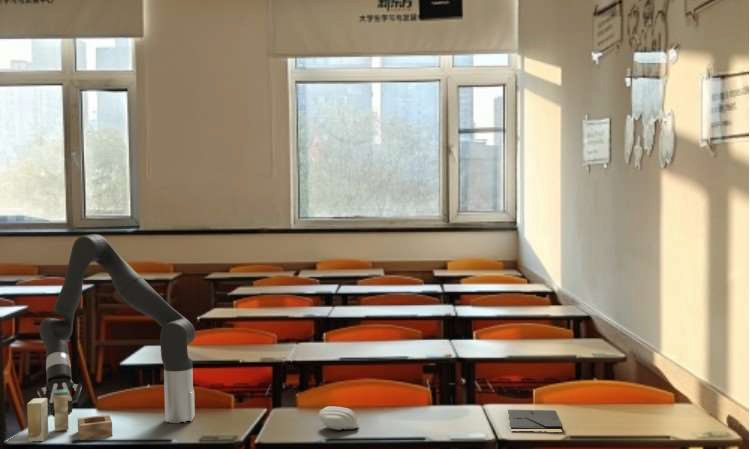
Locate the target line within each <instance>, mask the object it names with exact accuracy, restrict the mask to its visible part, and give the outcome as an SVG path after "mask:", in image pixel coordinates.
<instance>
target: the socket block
mask: <svg viewBox="0 0 750 449" xmlns="http://www.w3.org/2000/svg"><path fill="white" fill-rule="evenodd" d="M77 434H78V438H79V440H80V441H82V440H91V439H98V438H105V437H113V421H112V418H111V416H110V414H100V415H94V416H85V417H78V418H77Z"/></svg>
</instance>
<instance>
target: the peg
mask: <svg viewBox="0 0 750 449" xmlns="http://www.w3.org/2000/svg"><path fill="white" fill-rule="evenodd" d="M53 395H54V410H55V416H54V417H53V419H54V420H53V421H54V430H55V432H57V431H64V430H65V431H66V430H69V415H68V397H67V395H68V392H67V389H61V390H53Z"/></svg>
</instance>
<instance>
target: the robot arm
mask: <svg viewBox="0 0 750 449" xmlns="http://www.w3.org/2000/svg"><path fill="white" fill-rule="evenodd" d="M94 262H95V263H96V264H98V265H99V266H100V267H101V268H102V269H103V270H105V272H106V273H107V274H108V275H109V277H110V279H111V281H112V284H113V286H114V289H115V291H116V292H117V294H118V295H119V297H121V298H122V299H123V300H124V301H125V302H126V304H128V305H129V306H130V307H131V308H133V309H134V310H135V311H137V312H139V313H141V314H143V315H145V316H147V317H149V318H150V319H152V320H154V321H155V322H156V323H157V324H158V325H159V326H160V327H161V330H160V335H159V336H160V337H159V338H160V339H159V341H160V342H159V343H160V354H161V355H160V356H161V361H162V364H163V378H164V380H163V381H164V382H163V384H164V387H163V388H164V420H165V423H168V422H169V423H168V424H181V423H180V422H184V423H187V422H186V421H190V422H193V421H192V420H194V419H195V417H196V414H195V412H196V411H195V410H196V408H195V406H196V405H195V389H194V385H193V383H194V380H193V379H194V378H193V377H194V376H193V374H194V372H193V359H192V358H190V357H189V355H188V345H190V344H191V343H193V342H194V340H195V338H196V330H195V326H194V325H193V323H191V322H190V321H189V320H188V319H187V318H186V317H185V316H183V315H182V314H181V313H179V312H178V311H177V310H176V309H174V307H172V306H171V305H170V304H169V303H168V302H167V301H166V300H165V299H164V298H163V297H162V296H161V295H160V294H159V293H158V292H157V291H156V290H155V289H154V288H153V287H152V286H151V285H150V284H149V283H148V281H146V280H145V279H144V278H143V277H142V276H141V275H140V274H139V273H138V272H137V271H135V269H133V267H132V266H131V265H130V264H128V263H127V262H126V260H124V259H123V258H122V257H121V255H120V254H119V253H118V252H117V251H116V250H115V248H114V246H112V245H111V244H110V242H109V241H108V240H107V239H106V238H105V237H104V236H102V235H101V234H97V233H95V234H93V233H92V234H87V235H82V236H79V237H78V238H76V240H74V242H73V245H72V248H71V253H70V257H69V261H68V265H67V269H66V274H65V277H64V280H63V284H62V287H61V289H60V292H59V294H58V296H57V298H56V301H55V304H54V307H53V312H54V313H55V314H56V315H58V316H60V317H62V318H63V319H60V318H59V319H58V318H52V317H46V318H44V319H43V320H41V323H40V324H39V336H40V339H41V341H42V343H43V345H44V349H45V353H46V364H45V365H46V366H45V371H46V385H45V386H44V387H41V386H39V387H38V388H37V395H38V397H39V398H47V397H46V392H47V393H48V394H49V395H50V398H49V399H47V404H48V407H49V414H50V416H52V417H53V418H54V416H55V410H54V395H53V390H61V389H67V392H68V395H67V397H68V416H69V415H71V414H72V413H73V404H74V403H75V404H76V403H78V401H79V398H80V394H81V392H82V387H83V385H82V384H83V383H81V382H79V383H77V384H76V383H74V382H73V379H72V368H71V367H72V366H71V358H70V352H69V345H68V342H66V341H67V340H68V339H70V338H71V336H72V334H73V329H74V328H73V327H74V325H73V324H74V318H75V313H76V310H77V309H78V308H77V307H78V306H79V303H80V301H81V298H82V295H83V283H84V282H83V281H84V276H85V273H86V271H87V270H88V267H89V266H90V265H91V263H94ZM72 389H74V393H73V394H74V395H73V396H71V393H70V392H71V391H72ZM194 416H195V417H194ZM193 418H194V419H193Z"/></svg>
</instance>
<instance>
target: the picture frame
mask: <svg viewBox="0 0 750 449" xmlns="http://www.w3.org/2000/svg"><path fill="white" fill-rule="evenodd" d="M508 414H509V417H508V421H509V420H510V423H509V428H510V427H511V429H561V430H563V429H564V428H563V423H562V421H561V420H560V417H559V415H558V413H557V410H552V409H549V410H548V409H507V415H508ZM563 431H564V430H563Z"/></svg>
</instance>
